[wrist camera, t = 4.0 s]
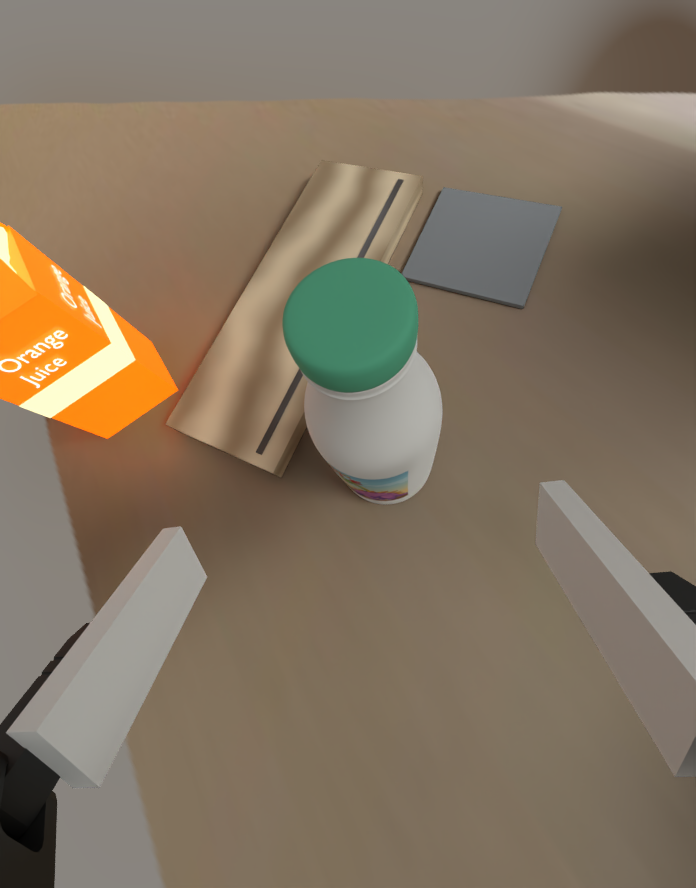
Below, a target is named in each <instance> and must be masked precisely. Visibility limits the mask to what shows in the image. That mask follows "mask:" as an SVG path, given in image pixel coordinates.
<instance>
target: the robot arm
mask: <svg viewBox="0 0 696 888" xmlns="http://www.w3.org/2000/svg"><path fill="white" fill-rule="evenodd" d="M535 544H536V546H537V548H538V549H539V551H540V553H541V554H542V556H543V558H544V559H545V561H546V563H547V564H548V566H549V568H550V569H551V571H552V573H553V574H554V576H555V578H556V579H557V581H558V583H559V584H560V586H561V588H562V589H563V591H564V593H565V594H566V596H567V598H568V599H569V601H570V603H571V604H572V606H573V608H574V609H575V611H576V613H577V614H578V616H579V618H580V619H581V621H582V623H583V624H584V626H585V628H586V629H587V631H588V633H589V634H590V636H591V638H592V639H593V641H594V643H595V644H596V646H597V648H598V649H599V651H600V653H601V654H602V656H603V658H604V659H605V661H606V663H607V664H608V666H609V668H610V669H611V671H612V673H613V674H614V676H615V678H616V679H617V681H618V683H619V685H620V686H621V688H622V690H623V691H624V693H625V695H626V696H627V698H628V700H629V701H630V703H631V705H632V706H633V708H634V710H635V711H636V713H637V715H638V716H639V718H640V720H641V721H642V723H643V725H644V726H645V728H646V730H647V731H648V733H649V735H650V736H651V738H652V740H653V741H654V743H655V745H656V746H657V748H658V750H659V751H660V753H661V755H662V756H663V758H664V760H665V761H666V763H667V765H668V766H669V768H670V770H671V771H672V773H673V775H674V776H675V777H696V586H694V585H692V584H691V583H689V582H688V581H686V580H684V579H683V578H681V577H679V576H678V575H676V574H675V573H673V572H660V573H648V572H647V571H646V570H645V569H644V567H643V566H642V565H641V564H640V563H639V562H638V561H637V560H636V559H635V558H634V556H633V555H632V554H631V553H630V552H629V551H628V550H627V549H626V548H625V547H624V545H623V544H622V543H621V542H620V541H619V540H618V539H617V538H616V537H615V536H614V534H613V533H612V532H611V531H610V530H609V529H608V528H607V527H606V526H605V525H604V523H603V522H602V521H601V520H600V519H599V518H598V517H597V516H596V515H595V514H594V512H593V511H592V510H591V509H590V508H589V507H588V506H587V505H586V504H585V503H584V501H583V500H582V499H581V498H580V497H579V496H578V495H577V494H576V493H575V492H574V490H573V489H572V488H571V487H570V486H569V485H568V484H567V483H566V482H565V481H564V480H559V481H551V482H542V483H540V487H539V501H538V515H537V529H536V542H535ZM206 578H207V576H206V574H205V572H204V570H203V568H202V566H201V564H200V562H199V560H198V558H197V556H196V554H195V552H194V550H193V548H192V547H191V545H190V543H189V541H188V539H187V537H186V535H185V533H184V531H183V529H182V527H181V526H180V527H172V528H164V529H162V531H161V532H160V533H159V534H158V536H157V537H156V538H155V540H154V541H153V542H152V543H151V545H150V546H149V547H148V549H147V550H146V551H145V553H144V554H143V555H142V556H141V558H140V559H139V560H138V562H137V563H136V564H135V566H134V567H133V568H132V569H131V571H130V572H129V573H128V575H127V576H126V577H125V579H124V580H123V581H122V582H121V584H120V585H119V586H118V588H117V589H116V590H115V592H114V593H113V594H112V595H111V597H110V598H109V599H108V601H107V602H106V603H105V605H104V606H103V607H102V608H101V610H100V611H99V612H98V614H97V615H96V616H95V618H94V619H93V620H92V621H91V623H86V624H85V625H84V626H83V627H82V628H80V629H79V630H78V631H77V632H76V633H75V634H74V635H72V636H71V637H70V638H69V639H68V640H67V642H66V643H65V644H64V645H63V646H62V648H61V649H60V650H59V652H58V653H57V654H56V655H55V656H54V660H53V661H50V663H49V664H48V665H47V667H46V668H45V669H44V670H43V672H42V675H41V676H39V677H38V678H37V679H36V681H35V682H34V683H33V684H32V686H31V687H30V688H29V689H28V690H27V692H26V693H25V694H24V695H23V697H22V698H21V699H20V700H19V702H18V703H17V704H16V705H15V707H14V708H13V709H12V711H11V712H10V713H9V714H8V716H7V717H6V718H5V719H4V721H3V722H2V723H1V725H0V888H54V879H55V849H56V820H57V799H56V794H55V793H54V792H53V791H52V790H53V788H54V787H55V785H56V783H57V781H58V780H59V778H61V779H62V780H64V781H65V782H66V783H67V784H68V785H70V786H71V787H72V788H100V786H101V784H102V782H103V780H104V778H105V776H106V774H107V773H108V771H109V769H110V767H111V765H112V763H113V761H114V759H115V757H116V755H117V753H118V751H119V749H120V747H121V745H122V743H123V741H124V739H125V737H126V735H127V733H128V731H129V729H130V727H131V725H132V724H133V722H134V720H135V718H136V716H137V714H138V712H139V710H140V708H141V706H142V704H143V702H144V700H145V698H146V696H147V694H148V692H149V690H150V688H151V686H152V684H153V682H154V680H155V678H156V676H157V675H158V673H159V671H160V669H161V667H162V665H163V663H164V661H165V659H166V657H167V655H168V653H169V651H170V649H171V647H172V645H173V643H174V641H175V639H176V637H177V635H178V633H179V631H180V629H181V627H182V625H183V624H184V622H185V620H186V618H187V616H188V614H189V612H190V610H191V608H192V606H193V604H194V602H195V600H196V598H197V596H198V594H199V592H200V590H201V588H202V586H203V584H204V582H205V580H206Z"/></svg>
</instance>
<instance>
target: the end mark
mask: <svg viewBox="0 0 696 888" xmlns="http://www.w3.org/2000/svg"><path fill="white" fill-rule="evenodd" d="M561 209H562V207H560V206H554V205H548V204H542V203H536V202H530V201H524V200H518V199H512V198H506V197H500V196H493V195H487V194H481V193H475V192H469V191H463V190H457V189H451V188H445V187H443V189H442V191H441V194H440V196H439V198H438V200H437V202H436V204H435V206H434V208H433V210H432V212H431V214H430V216H429V218H428V220H427V222H426V225H425V227H424V229H423V231H422V233H421V235H420V237H419V239H418V241H417V243H416V245H415V247H414V249H413V251H412V253H411V256H410V258H409V260H408V262H407V264H406V266H405V268H404V270H403V272H402V275H403V276H404V277H405V278H406V280H407V281H411V282H415V283H419V284H423V285H427V286H431V287H435V288H439V289H443V290H447V291H452V292H456V293H460V294H464V295H468V296H472V297H476V298H480V299H484V300H488V301H492V302H496V303H500V304H505V305H509V306H513V307H517V308H521V309H523V307H524V305H525V303H526V300H527V297H528V295H529V292H530V290H531V287H532V284H533V282H534V279H535V277H536V274H537V271H538V269H539V266H540V264H541V261H542V258H543V256H544V253H545V251H546V248H547V245H548V243H549V240H550V238H551V235H552V233H553V230H554V227H555V225H556V222H557V220H558V217H559V214H560V212H561Z"/></svg>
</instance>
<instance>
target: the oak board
mask: <svg viewBox="0 0 696 888" xmlns="http://www.w3.org/2000/svg"><path fill="white" fill-rule="evenodd" d="M422 184H423V176H419V175H412V174H406V173H400V172H393V171H387V170H381V169H375V168H368V167H362V166H356V165H349V164H343V163H337V162H330V161H324V160H321V162H320V163H319V165H318V167H317V168H316V170H315V172H314V173H313V175H312V177H311V179H310V180H309V182H308V184H307V185H306V187H305V189H304V190H303V192H302V194H301V195H300V197H299V199H298V201H297V202H296V204H295V206H294V207H293V209H292V211H291V212H290V214H289V216H288V217H287V219H286V221H285V223H284V224H283V226H282V228H281V229H280V231H279V233H278V234H277V236H276V238H275V239H274V241H273V243H272V244H271V246H270V248H269V250H268V251H267V253H266V255H265V256H264V258H263V260H262V261H261V263H260V265H259V266H258V268H257V270H256V272H255V273H254V275H253V277H252V278H251V280H250V282H249V283H248V285H247V287H246V288H245V290H244V292H243V294H242V295H241V297H240V299H239V300H238V302H237V304H236V305H235V307H234V309H233V310H232V312H231V314H230V316H229V317H228V319H227V321H226V322H225V324H224V326H223V327H222V329H221V331H220V332H219V334H218V336H217V337H216V339H215V341H214V343H213V344H212V346H211V348H210V349H209V351H208V353H207V354H206V356H205V358H204V359H203V361H202V363H201V365H200V366H199V368H198V370H197V371H196V373H195V375H194V376H193V378H192V380H191V381H190V383H189V385H188V387H187V388H186V390H185V392H184V393H183V395H182V397H181V398H180V400H179V402H178V403H177V405H176V407H175V408H174V410H173V412H172V414H171V415H170V417H169V419H168V420H167V422H166V424H165V425H167V426H169V427H171V428H173V429H175V430H177V431H179V432H181V433H183V434H185V435H188V436H190V437H192V438H194V439H196V440H199V441H201V442H203V443H205V444H207V445H210V446H212V447H214V448H216V449H218V450H221V451H223V452H225V453H227V454H230V455H232V456H234V457H236V458H238V459H241V460H243V461H245V462H247V463H249V464H252V465H254V466H256V467H258V468H260V469H263V470H265V471H267V472H269V473H272V474H274V475H276V476H278V477H280V478H281V477H282V475H283V473H284V471H285V469H286V467H287V465H288V463H289V461H290V459H291V457H292V455H293V453H294V451H295V449H296V447H297V445H298V443H299V441H300V439H301V437H302V435H303V433H304V431H305V429H306V427H307V424H306V419H305V412H304V399H305V391H306V387H307V383H308V381H307V380H306V379H305V377H304V376H303V374H302V372H301V370H300V368H299V367H298V366H297V364H296V363H295V361H294V360H293V358H292V356H291V354H290V352H289V350H288V348H287V346H286V343H285V340H284V335H283V326H282V319H283V312H284V308H285V305H286V302H287V300H288V298H289V296H290V295H291V293H292V291H293V290H294V289H295V287H296V286H297V285H298V284H299V283H300V282H301V281H302V280H303V279H304V278H305V277H306V276H307V275H308V274H310V273H311V272H313V271H314V270H316V269H317V268H319V267H321V266H323V265H325V264H328V263H330V262H333V261H337V260H341V259H346V258H369V259H374V260H378V261H381V262H384V263H386V264H388V262H389V260H390V258H391V256H392V254H393V252H394V250H395V248H396V246H397V244H398V242H399V240H400V238H401V236H402V234H403V232H404V230H405V228H406V226H407V224H408V222H409V220H410V218H411V216H412V214H413V212H414V210H415V208H416V206H417V204H418V202H419V200H420V198H421V196H422Z"/></svg>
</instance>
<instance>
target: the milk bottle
mask: <svg viewBox="0 0 696 888" xmlns="http://www.w3.org/2000/svg"><path fill="white" fill-rule="evenodd" d="M282 326H283V335H284V340H285V343H286V346H287V348H288V350H289V352H290V354H291V356H292V358H293V360H294V361H295V363H296V364H297V366H298V367H299V368H300V370H301V372H302V374H303V376H304V377H305V379H306V380H307V381H308V383H307V387H306V391H305V399H304V412H305V419H306V424H307V428H308V431H309V434H310V436H311V438H312V441H313V443H314V445H315V446H316V448H317V450H318V451H319V452H320V454H321V455H322V457H323V458H324V459H325V461H326V462H327V463H328V464H329V466H330V467H331V468H332V469H333V470H334V471H335V472H336V474H337V475H338V476H339V477H340V478H341V479H342V480H343V481H344V482H345V483H346V484H347V485H348V487H349V488H350V489H351V490H352V491H354V492H355V493H356V494H357V495H359V496H360V497H361V498H363V499H365V500H367V501H370V502H372V503H376V504H395V503H399V502H402V501H405V500H407V499H409V498H410V497H412V496H413V495H415V494H416V493H417V492H418V491H419V490H420V489H421V488H422V487H423V485H424V484H425V482H426V481H427V479H428V476H429V474H430V471H431V468H432V465H433V461H434V457H435V453H436V449H437V445H438V440H439V436H440V431H441V423H442V400H441V393H440V389H439V386H438V383H437V380H436V378H435V375H434V373H433V372H432V370H431V368H430V367H429V365H428V364H427V362H426V361H425V360H424V358H423V357H422V356H421V355H420V354H419V353H418V352H417V333H418V307H417V301H416V298H415V295H414V293H413V290H412V288H411V286H410V284H409V283H408V281H407V280H406V278H405V277H404V276H403V275H402V274H401V273H400V272H399V271H397V270H396V269H395V268H393V267H392V266H390V265H388V264H386V263H384V262H381V261H378V260H374V259H369V258H346V259H341V260H337V261H333V262H330V263H328V264H325V265H323V266H321V267H319V268H317V269H316V270H314V271H313V272H311V273H310V274H308V275H307V276H306V277H305V278H304V279H303V280H302V281H301V282H300V283H299V284H298V285H297V286H296V287H295V289H294V290H293V291H292V293H291V295H290V296H289V298H288V300H287V302H286V305H285V308H284V312H283V319H282Z"/></svg>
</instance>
